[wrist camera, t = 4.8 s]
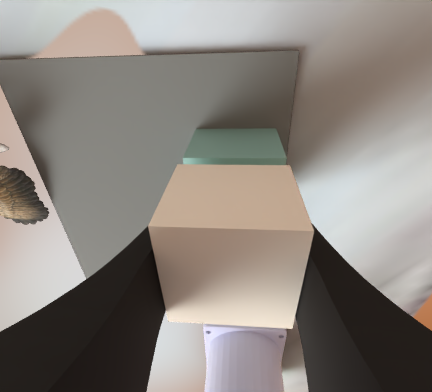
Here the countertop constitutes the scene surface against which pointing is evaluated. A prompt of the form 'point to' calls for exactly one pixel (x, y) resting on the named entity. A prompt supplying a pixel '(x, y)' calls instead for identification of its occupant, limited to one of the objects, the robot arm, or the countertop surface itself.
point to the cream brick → (231, 245)
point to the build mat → (134, 129)
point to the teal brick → (235, 147)
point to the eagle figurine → (19, 196)
